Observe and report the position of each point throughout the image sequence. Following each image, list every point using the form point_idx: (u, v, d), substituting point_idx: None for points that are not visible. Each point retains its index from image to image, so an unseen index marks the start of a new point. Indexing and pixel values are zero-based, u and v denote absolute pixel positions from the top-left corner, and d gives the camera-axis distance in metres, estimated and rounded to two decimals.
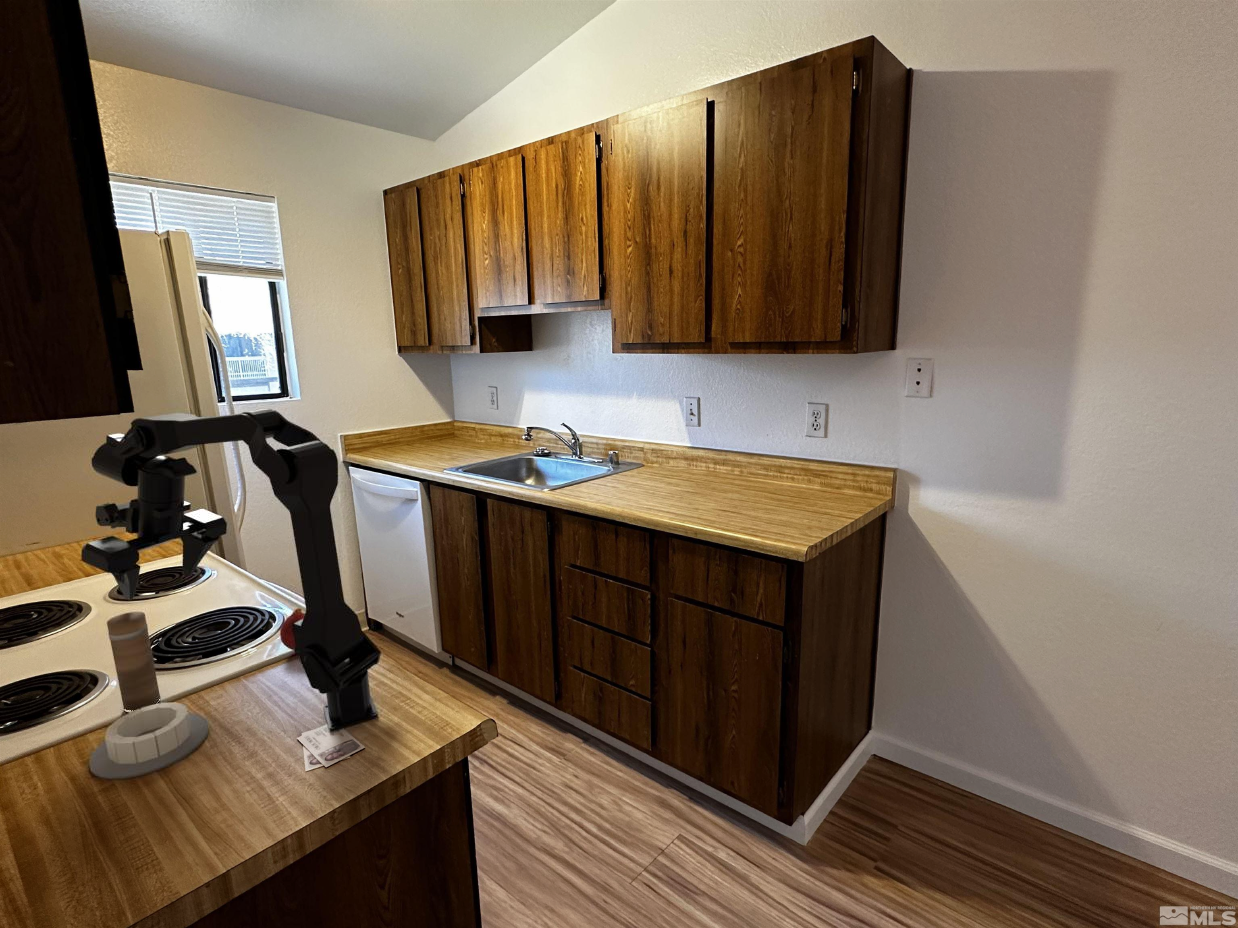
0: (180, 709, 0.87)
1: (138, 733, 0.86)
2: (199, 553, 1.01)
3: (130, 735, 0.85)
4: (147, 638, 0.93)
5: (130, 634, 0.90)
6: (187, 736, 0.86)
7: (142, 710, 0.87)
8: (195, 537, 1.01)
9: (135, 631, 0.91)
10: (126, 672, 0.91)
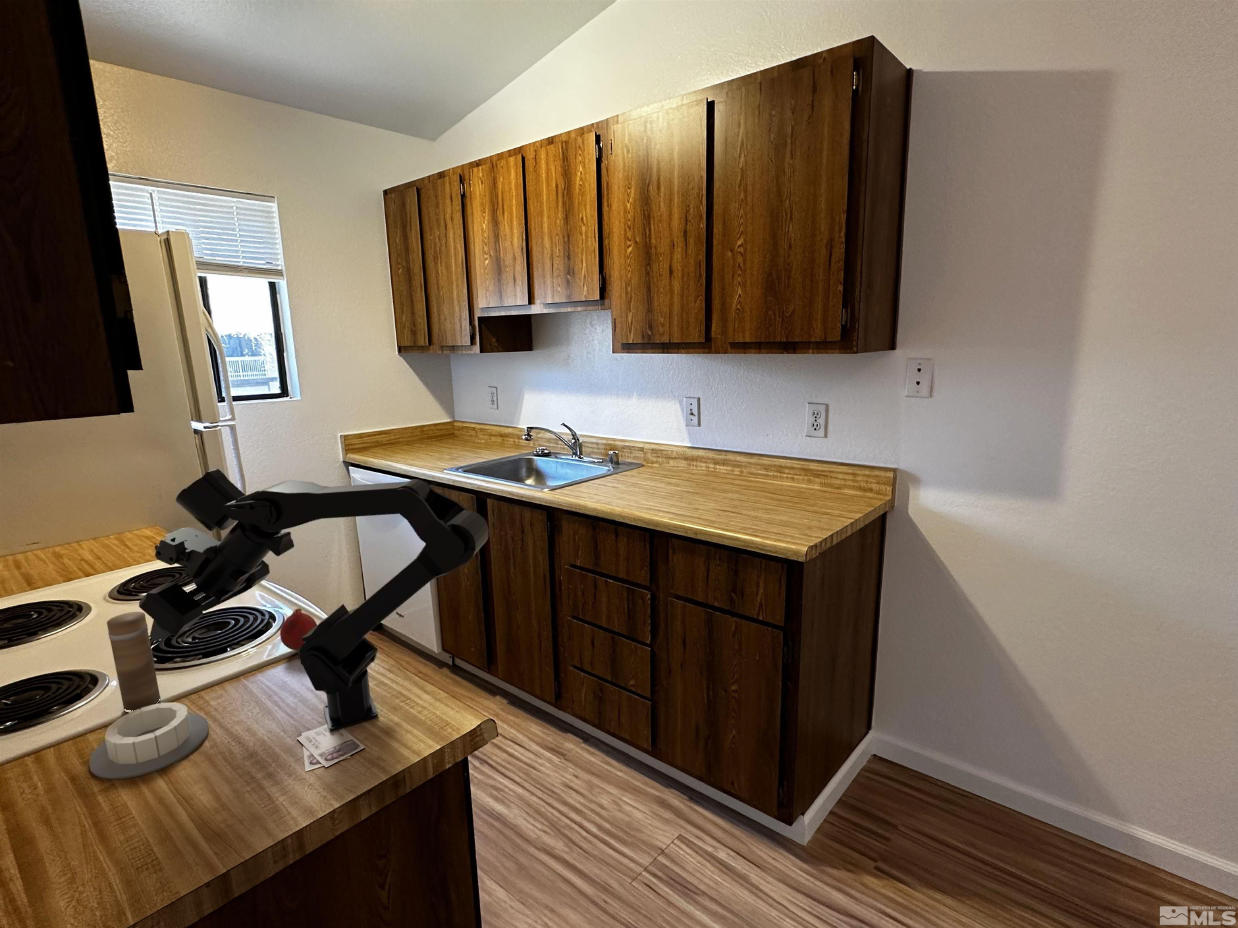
0: (180, 709, 0.87)
1: (138, 733, 0.86)
2: (232, 597, 0.95)
3: (130, 735, 0.85)
4: (147, 638, 0.93)
5: (130, 634, 0.90)
6: (187, 736, 0.86)
7: (142, 710, 0.87)
8: None
9: (135, 631, 0.91)
10: (126, 672, 0.91)
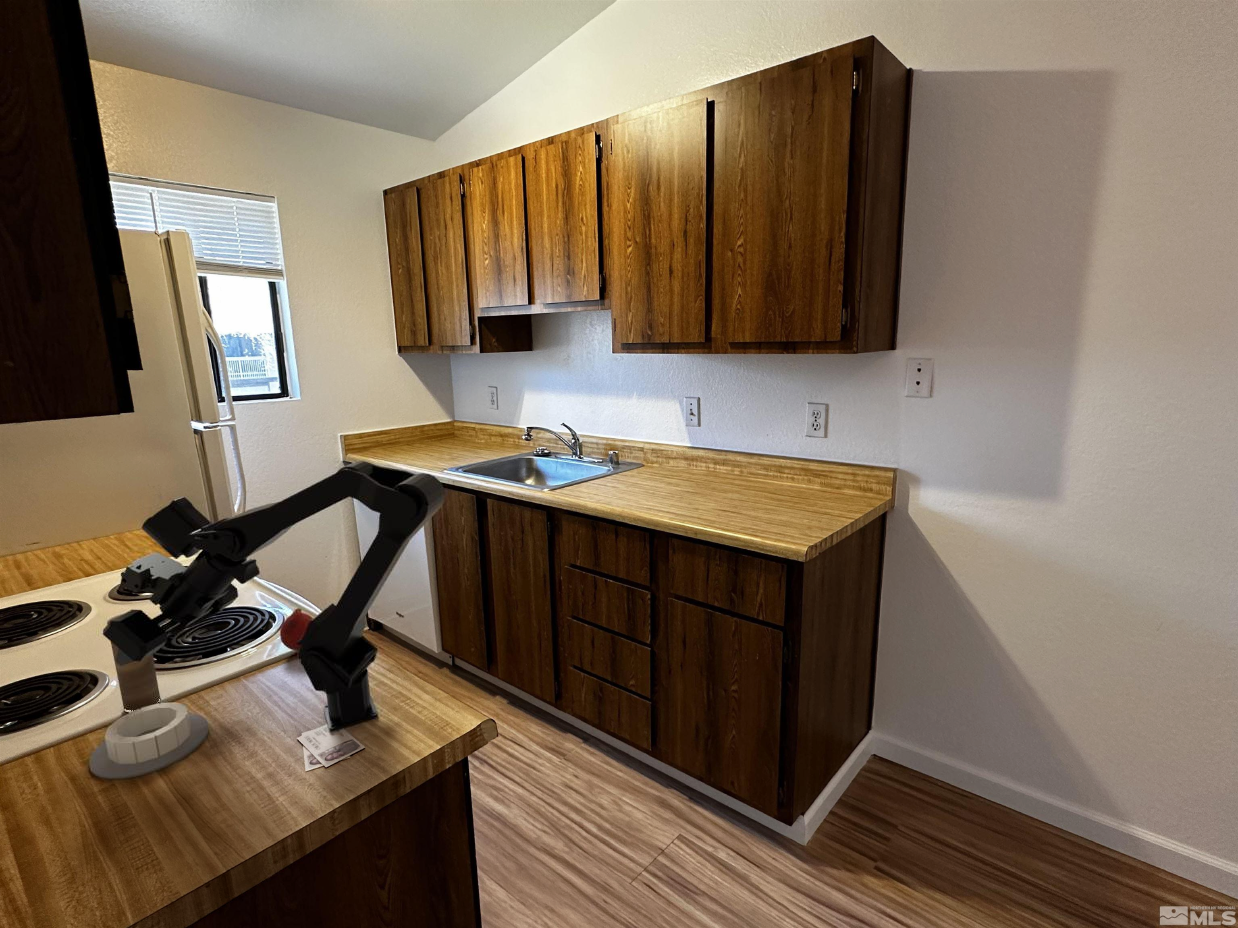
0: (180, 709, 0.87)
1: (138, 733, 0.86)
2: (199, 620, 0.96)
3: (130, 735, 0.85)
4: None
5: None
6: (187, 736, 0.86)
7: (142, 710, 0.87)
8: None
9: None
10: (126, 672, 0.91)
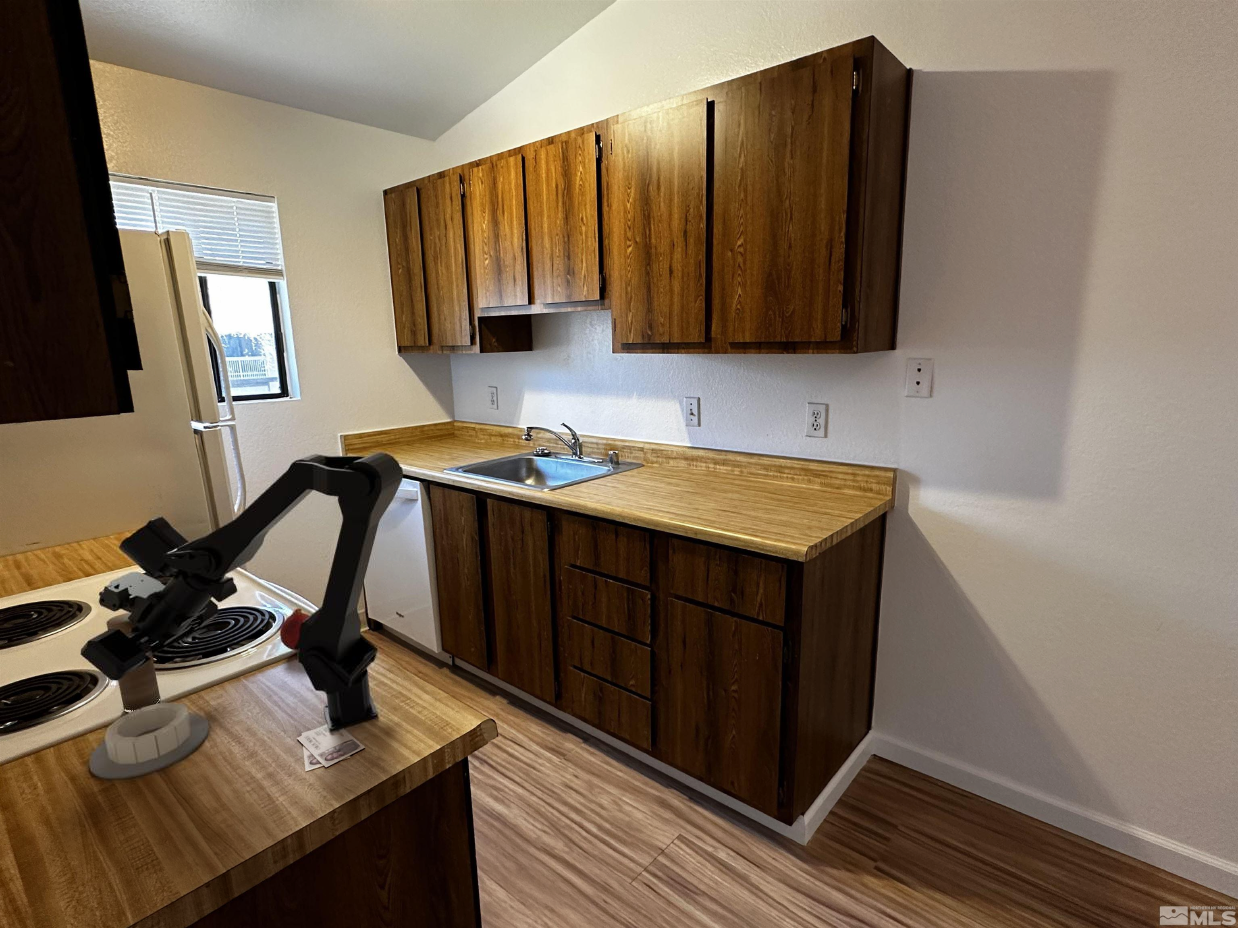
0: (180, 709, 0.87)
1: (138, 733, 0.86)
2: (169, 644, 0.95)
3: (130, 735, 0.85)
4: None
5: (130, 634, 0.90)
6: (187, 736, 0.86)
7: (142, 710, 0.87)
8: None
9: None
10: None
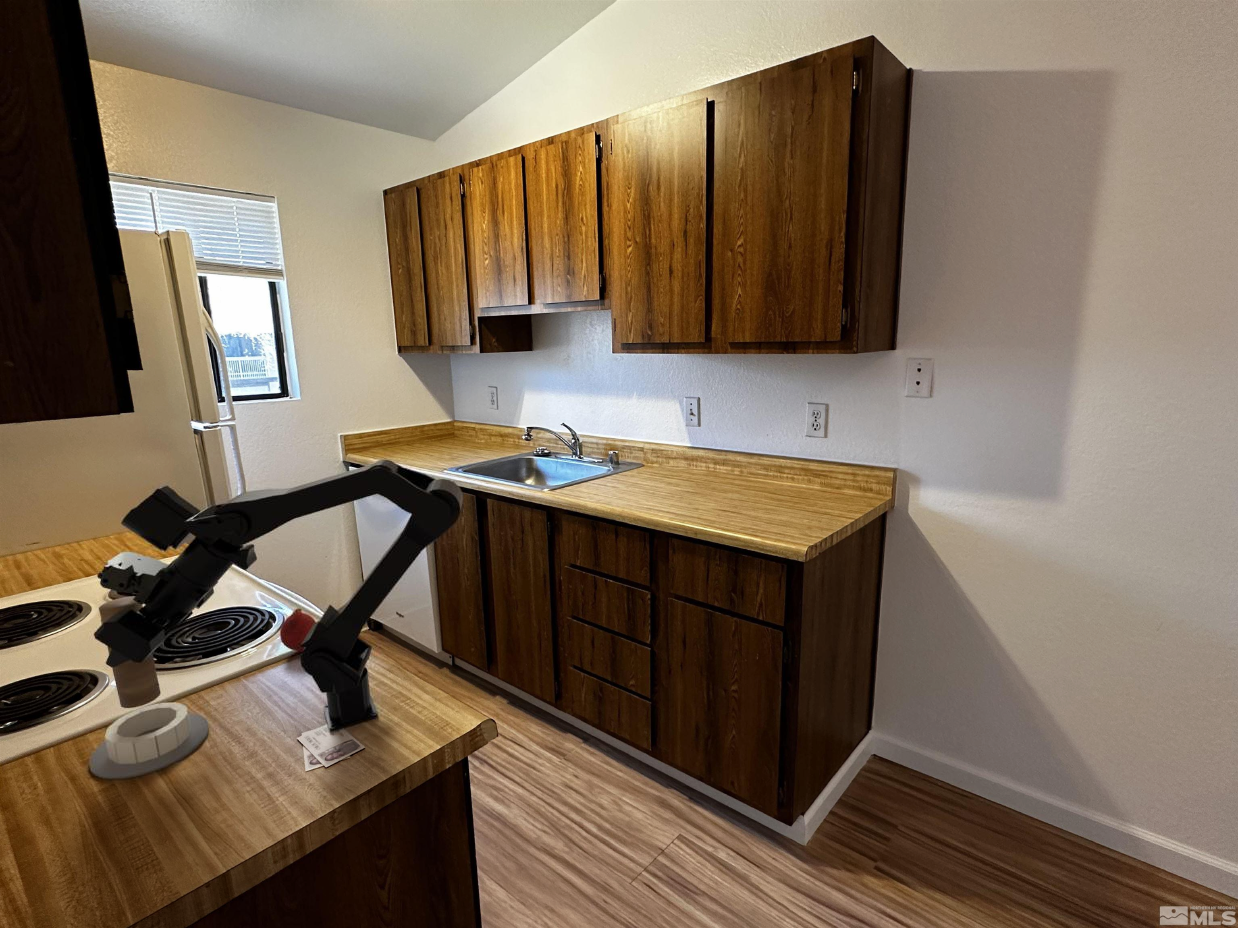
0: (180, 709, 0.87)
1: (138, 733, 0.86)
2: (168, 629, 0.87)
3: (130, 735, 0.85)
4: None
5: None
6: (187, 736, 0.86)
7: (142, 710, 0.87)
8: None
9: None
10: (127, 662, 0.82)
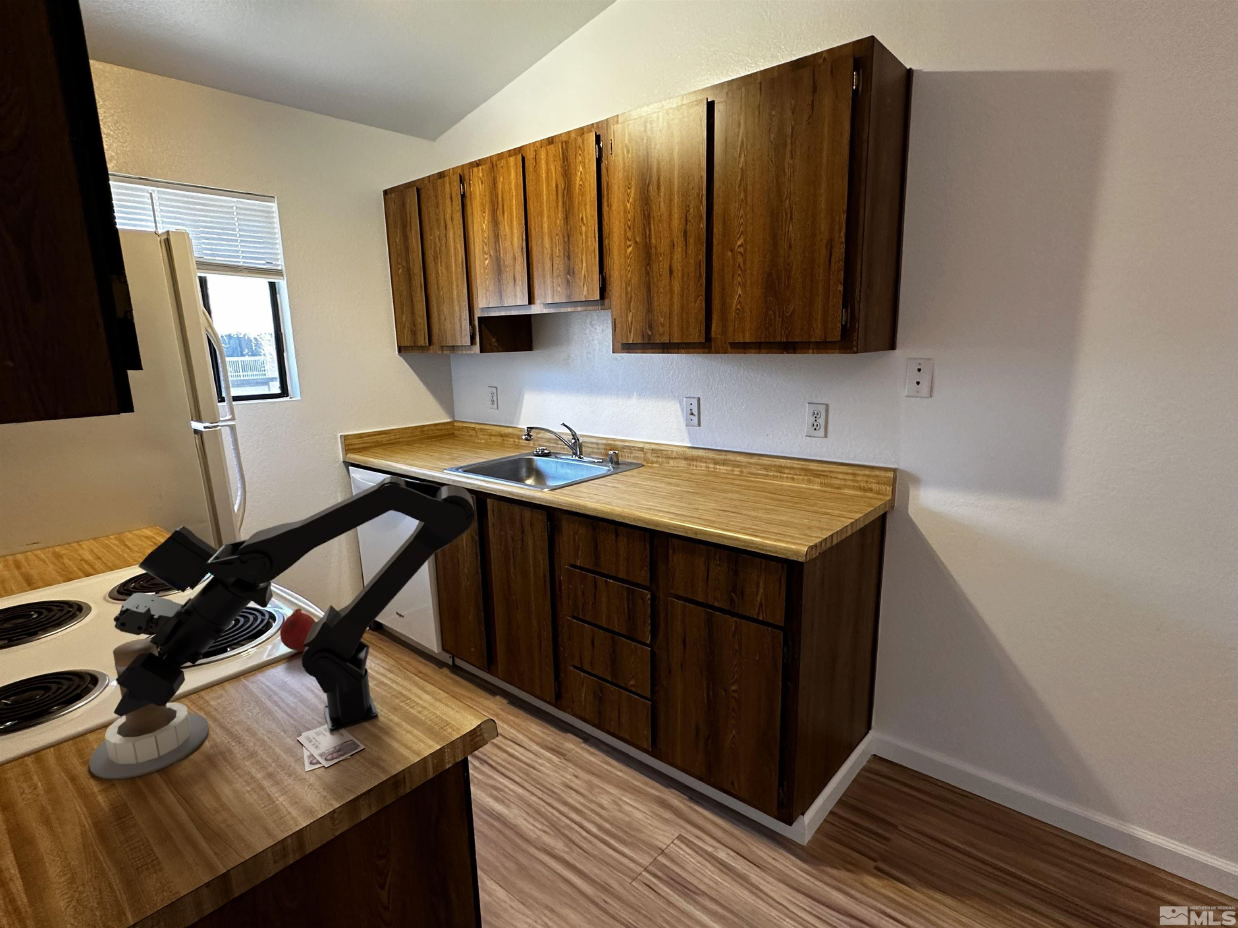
0: (180, 709, 0.87)
1: None
2: None
3: None
4: None
5: None
6: (187, 736, 0.86)
7: None
8: None
9: None
10: None
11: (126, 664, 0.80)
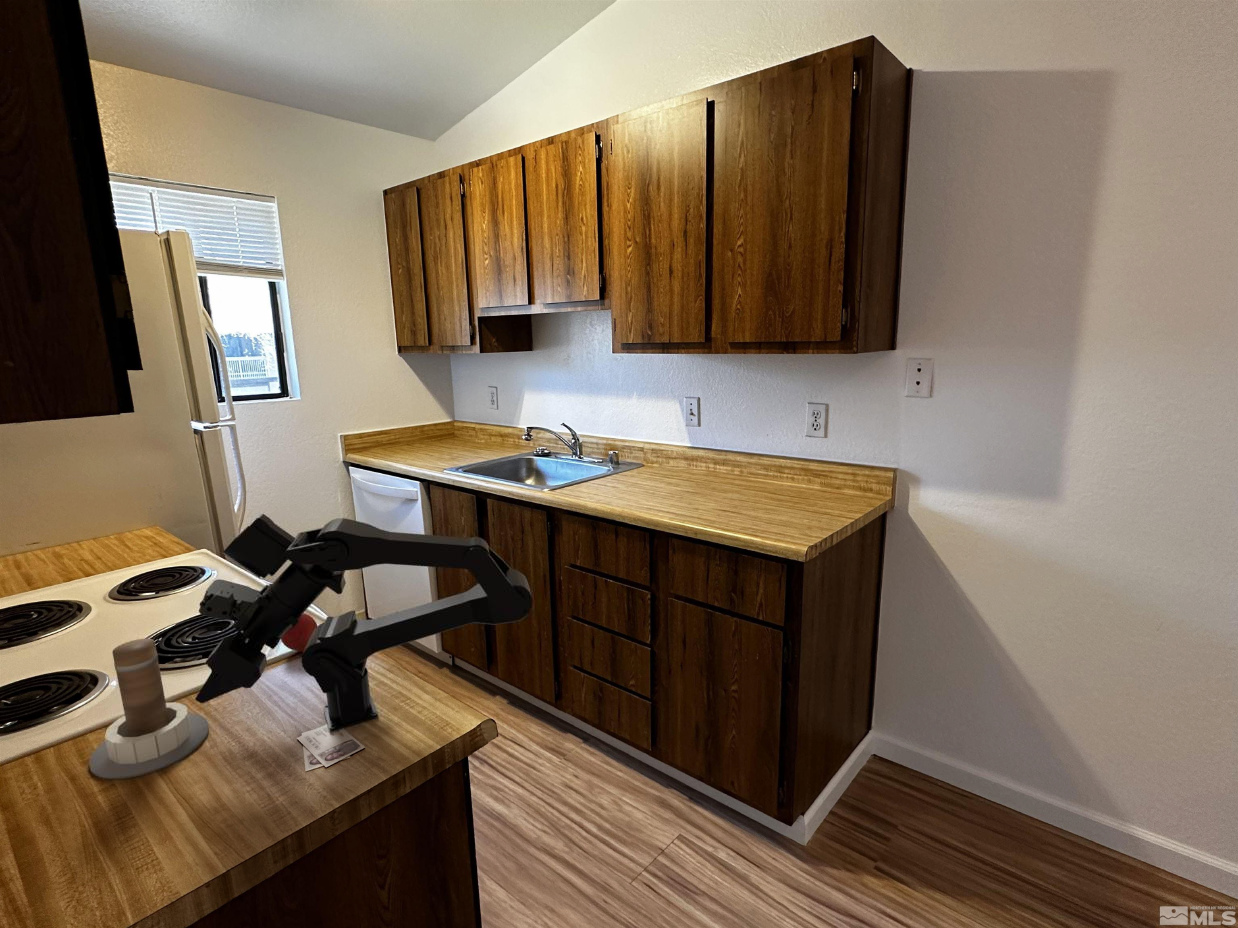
0: (180, 709, 0.87)
1: None
2: None
3: None
4: (158, 665, 0.84)
5: (146, 662, 0.81)
6: (187, 736, 0.86)
7: None
8: None
9: (150, 658, 0.82)
10: (142, 705, 0.82)
11: (125, 664, 0.80)
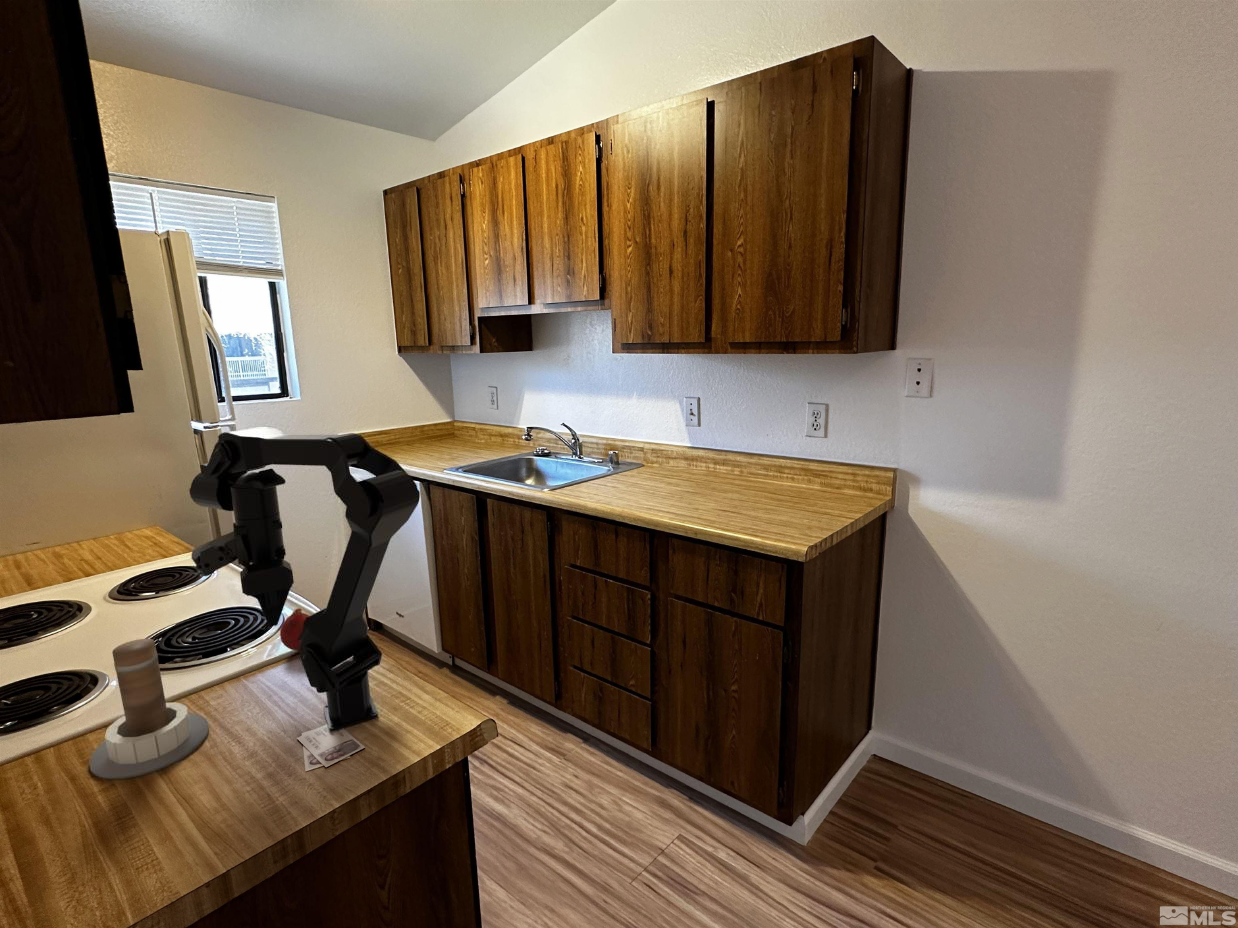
0: (180, 709, 0.87)
1: None
2: None
3: None
4: (158, 665, 0.84)
5: (146, 662, 0.81)
6: (187, 736, 0.86)
7: None
8: None
9: (150, 658, 0.82)
10: (142, 706, 0.82)
11: (125, 664, 0.80)
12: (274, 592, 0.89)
